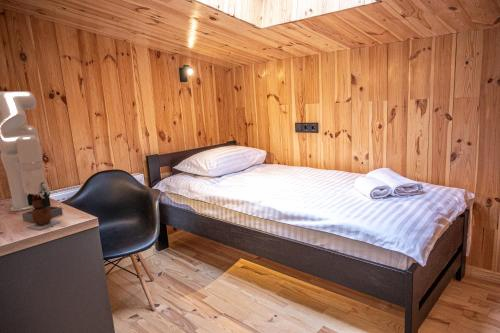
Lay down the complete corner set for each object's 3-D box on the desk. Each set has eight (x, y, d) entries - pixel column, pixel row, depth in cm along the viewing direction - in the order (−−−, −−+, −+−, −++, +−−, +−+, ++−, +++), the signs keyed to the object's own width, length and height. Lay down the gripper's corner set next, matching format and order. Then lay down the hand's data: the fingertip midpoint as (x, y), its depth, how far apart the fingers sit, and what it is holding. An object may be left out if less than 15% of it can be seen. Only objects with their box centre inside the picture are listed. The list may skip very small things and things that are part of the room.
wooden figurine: (33, 228, 134) (25, 193, 132) (35, 223, 140) (28, 190, 137) (51, 224, 137) (44, 190, 134) (53, 220, 142) (46, 187, 139)
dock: (23, 220, 147) (21, 212, 146) (48, 212, 157) (47, 204, 157) (37, 223, 142) (35, 214, 142) (62, 214, 153) (61, 206, 152)
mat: (26, 228, 136) (26, 227, 136) (48, 221, 144) (47, 219, 144) (39, 230, 132) (39, 229, 132) (60, 222, 140) (60, 221, 140)
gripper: (10, 167, 134) (18, 206, 138) (35, 169, 126) (43, 210, 130) (29, 163, 141) (36, 201, 144) (53, 165, 133) (61, 204, 136)
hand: (39, 205), depth 137 cm, fingers open, 9 cm apart
